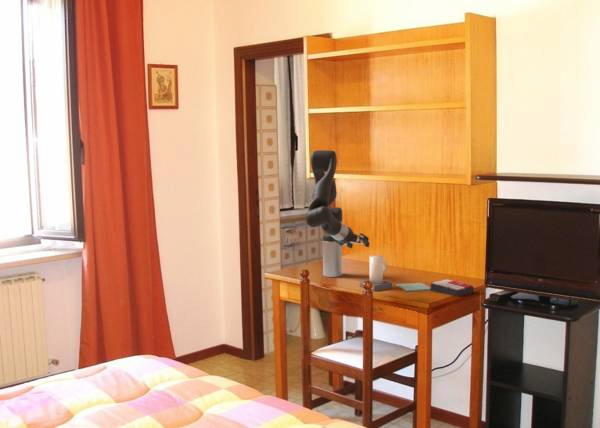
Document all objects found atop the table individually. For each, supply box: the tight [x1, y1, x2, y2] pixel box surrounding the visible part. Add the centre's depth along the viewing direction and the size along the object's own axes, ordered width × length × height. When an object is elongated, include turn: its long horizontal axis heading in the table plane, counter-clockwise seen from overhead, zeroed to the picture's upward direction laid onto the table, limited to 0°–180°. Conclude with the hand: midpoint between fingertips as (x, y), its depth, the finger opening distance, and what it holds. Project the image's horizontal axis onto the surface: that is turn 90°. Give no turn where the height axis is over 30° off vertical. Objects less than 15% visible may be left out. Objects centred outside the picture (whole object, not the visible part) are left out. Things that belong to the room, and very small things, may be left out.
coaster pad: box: [395, 282, 431, 292], centre depth 307 cm, size 12×12×1 cm
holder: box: [359, 279, 394, 292], centre depth 308 cm, size 10×10×2 cm
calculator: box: [430, 278, 475, 298], centre depth 299 cm, size 11×4×15 cm
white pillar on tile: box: [368, 254, 387, 285], centre depth 308 cm, size 8×6×14 cm
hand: (360, 245), depth 301 cm, fingers open, 8 cm apart
